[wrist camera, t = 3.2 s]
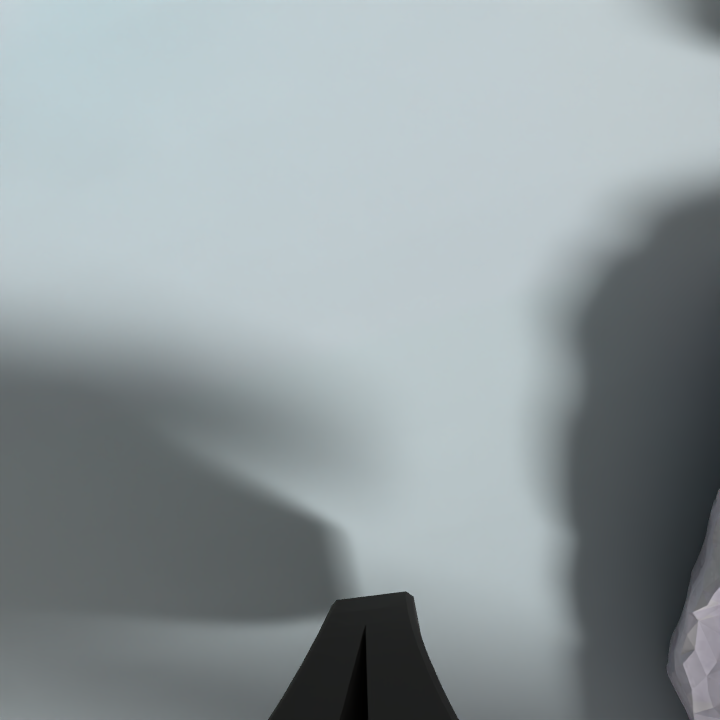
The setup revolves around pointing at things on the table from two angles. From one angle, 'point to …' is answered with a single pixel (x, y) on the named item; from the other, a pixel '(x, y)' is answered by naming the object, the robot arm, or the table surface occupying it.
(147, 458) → the table surface
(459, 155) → the table surface
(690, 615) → the stone block
